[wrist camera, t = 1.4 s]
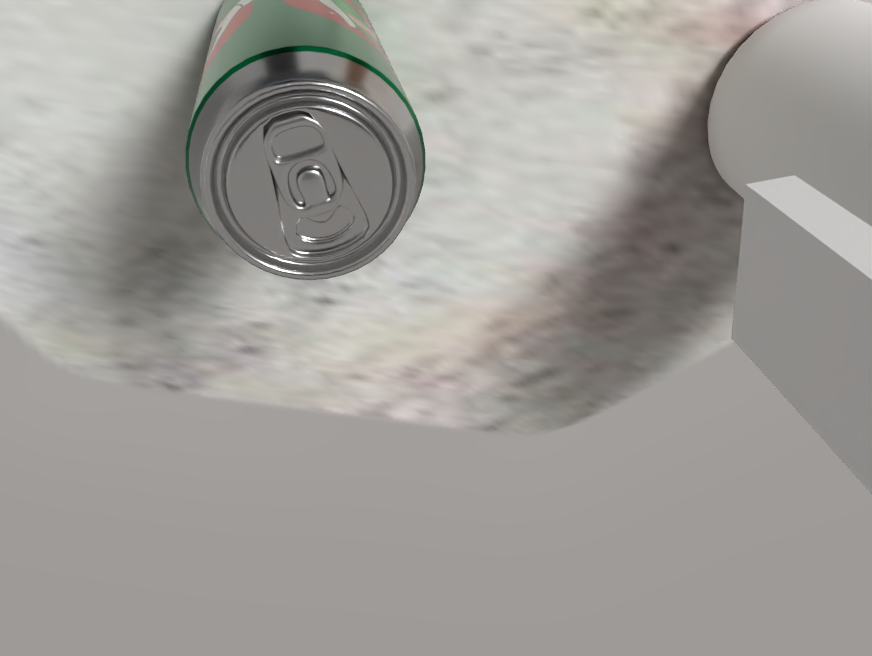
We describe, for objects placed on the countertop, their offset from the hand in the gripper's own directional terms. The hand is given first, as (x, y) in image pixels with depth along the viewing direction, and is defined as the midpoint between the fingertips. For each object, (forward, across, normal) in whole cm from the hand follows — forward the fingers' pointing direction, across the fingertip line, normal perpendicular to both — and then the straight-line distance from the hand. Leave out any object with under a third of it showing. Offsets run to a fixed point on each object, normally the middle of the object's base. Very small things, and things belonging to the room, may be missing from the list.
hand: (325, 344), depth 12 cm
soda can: (+18, 0, 0) cm, 18 cm away
